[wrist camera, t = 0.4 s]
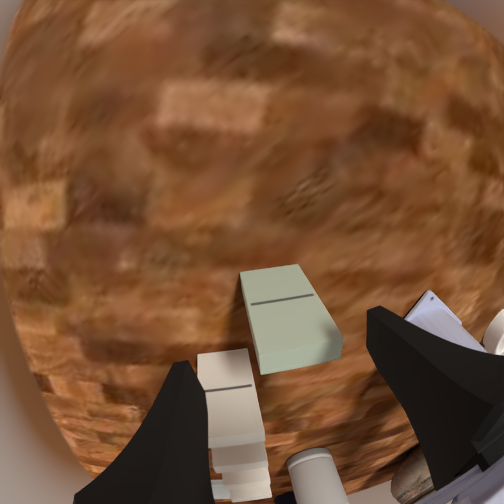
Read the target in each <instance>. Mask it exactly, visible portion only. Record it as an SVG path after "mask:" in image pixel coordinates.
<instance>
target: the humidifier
mask: <svg viewBox="0 0 504 504" xmlns="http://www.w3.org/2000/svg"><path fill="white" fill-rule="evenodd" d="M274 501H275V504H297V502H296V498H295V494H294V491H291V492H288V493H285V494H282V495H280V496H278V497H276V498H275V499H274Z"/></svg>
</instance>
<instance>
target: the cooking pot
mask: <svg viewBox="0 0 504 504" xmlns="http://www.w3.org/2000/svg"><path fill="white" fill-rule="evenodd" d="M435 492H436V490H435V488H434V486H433V483H432V479H431V475H430V472H429V469H428V466H427V462H426V459H425V457H424V454H423V451H422V449H421V446H420V445H418V446H417V447H415V448H414V449H413V450H411V451H410V452H409V453H408V455H407V457H406V458H405V460H404V461H403V462H402V464H401V465H400V467H399V468H398V469H397V471H396V472H395V474H394V476H393V478H392V481H391V493H392V495H393V497H394V498H395V499H396V500H397V501H398V502H400V503H401V504H415V503H417V502H418V501H420V500H422V499H424V498H426V497H428V496H429V495H431V494H433V493H435Z"/></svg>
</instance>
